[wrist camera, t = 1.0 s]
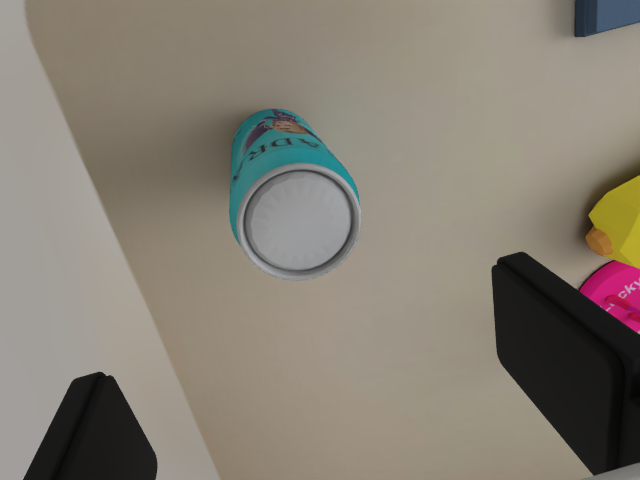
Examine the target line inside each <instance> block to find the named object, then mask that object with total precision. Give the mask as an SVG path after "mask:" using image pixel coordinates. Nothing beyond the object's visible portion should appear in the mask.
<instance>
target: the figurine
mask: <svg viewBox="0 0 640 480" xmlns="http://www.w3.org/2000/svg"><path fill="white" fill-rule="evenodd" d="M579 292H581V293H582V294H583V295H585V296H586V297H588V298H589V299H590V300H592V301H593V302H595V303H596V304H597V305H599V306H600V307H602V308H603V309H604V310H606V311H607V312H609V313H610V314H611V315H613V316H614V317H616V318H617V319H618V320H620V321H621V322H623V323H624V324H625V325H627V326H628V327H630V328H631V329H632V330H634V331H635V332H638V331H639V330H640V269H639V268H636V267H633V266H630V265H627V264H624V263H622V262H619V261H613V262H611V263H609V264H607V265H606V266H604V267H602V268H601V269H600V270H598V271H597V272H596V273H594V274H593V275H592V276H591V277H590V278H589V279H588V280H587V281H586V282H585V284H584V285H583V286H582V288H581V289H580V291H579Z"/></svg>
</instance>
